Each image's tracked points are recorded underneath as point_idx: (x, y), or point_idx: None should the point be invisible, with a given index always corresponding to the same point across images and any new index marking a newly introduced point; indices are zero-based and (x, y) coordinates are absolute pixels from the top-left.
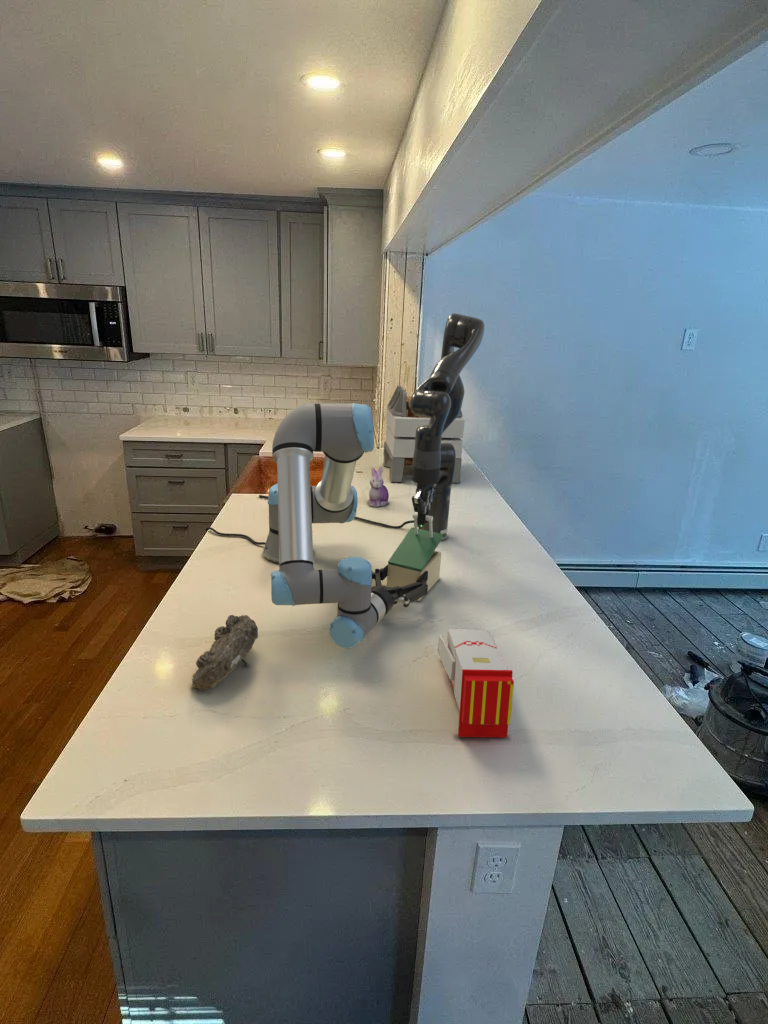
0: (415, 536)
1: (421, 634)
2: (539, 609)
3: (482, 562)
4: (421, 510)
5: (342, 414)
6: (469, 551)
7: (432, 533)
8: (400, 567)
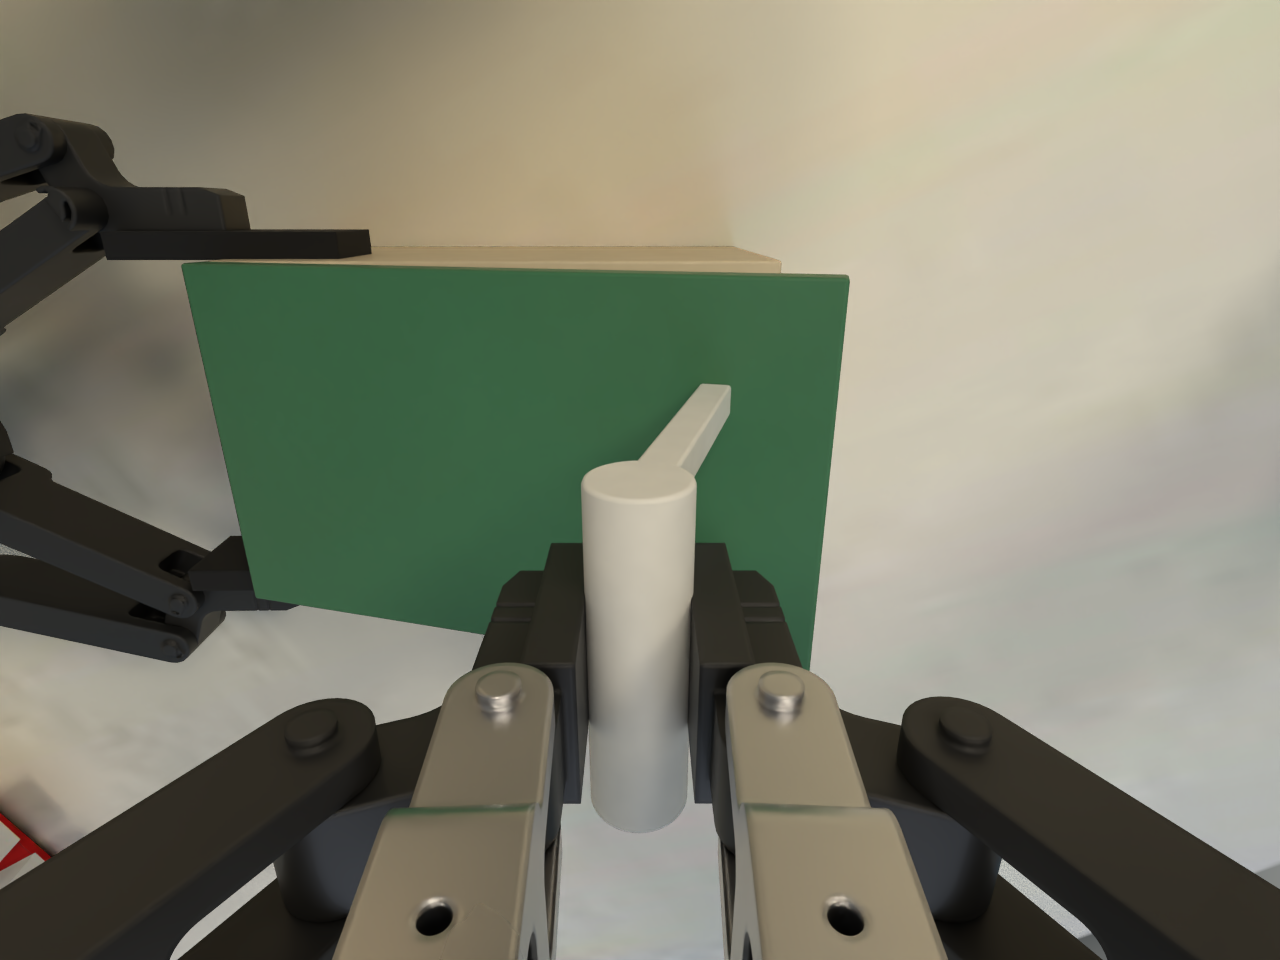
0: (667, 402)
1: None
2: (644, 953)
3: (1088, 631)
4: (227, 942)
5: None
6: (1255, 513)
7: None
8: None
